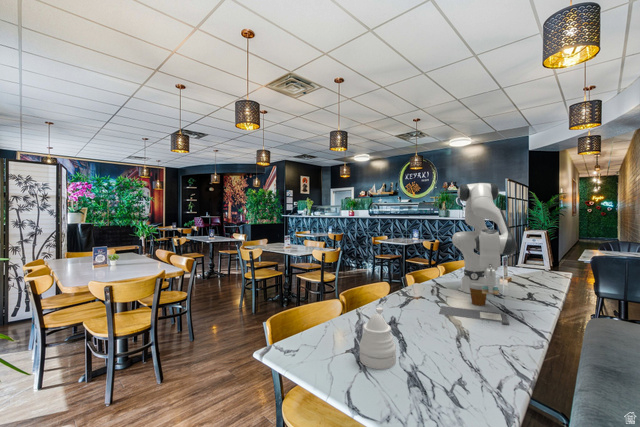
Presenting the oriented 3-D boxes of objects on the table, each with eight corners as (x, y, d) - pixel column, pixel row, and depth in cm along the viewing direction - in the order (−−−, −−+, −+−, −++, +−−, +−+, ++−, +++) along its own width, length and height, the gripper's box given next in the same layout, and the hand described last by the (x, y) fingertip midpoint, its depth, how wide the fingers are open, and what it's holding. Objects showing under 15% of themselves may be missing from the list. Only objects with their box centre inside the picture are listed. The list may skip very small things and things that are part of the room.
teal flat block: (498, 292, 147) (498, 287, 147) (498, 294, 142) (498, 289, 142) (482, 290, 150) (481, 285, 150) (482, 293, 145) (482, 288, 145)
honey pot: (370, 348, 117) (370, 302, 117) (402, 358, 109) (401, 308, 108) (352, 361, 107) (352, 311, 107) (385, 373, 99) (384, 318, 98)
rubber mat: (441, 307, 163) (441, 305, 163) (506, 315, 149) (506, 313, 149) (438, 315, 150) (438, 313, 150) (508, 325, 137) (508, 323, 137)
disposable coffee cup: (483, 303, 170) (483, 282, 169) (491, 308, 160) (491, 286, 160) (466, 302, 170) (465, 281, 170) (473, 308, 161) (472, 286, 161)
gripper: (499, 266, 135) (499, 297, 135) (496, 259, 153) (496, 286, 153) (483, 265, 138) (483, 295, 138) (482, 259, 156) (482, 285, 156)
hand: (490, 290), depth 146 cm, fingers closed on teal flat block, 5 cm apart
